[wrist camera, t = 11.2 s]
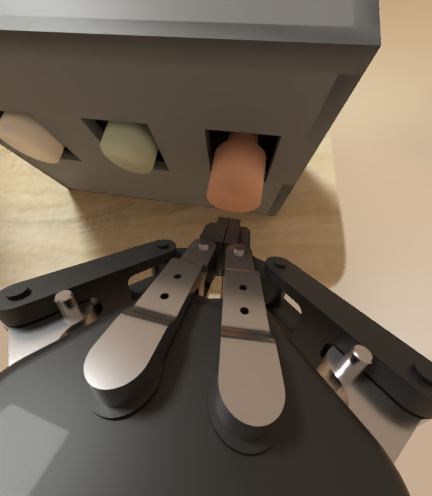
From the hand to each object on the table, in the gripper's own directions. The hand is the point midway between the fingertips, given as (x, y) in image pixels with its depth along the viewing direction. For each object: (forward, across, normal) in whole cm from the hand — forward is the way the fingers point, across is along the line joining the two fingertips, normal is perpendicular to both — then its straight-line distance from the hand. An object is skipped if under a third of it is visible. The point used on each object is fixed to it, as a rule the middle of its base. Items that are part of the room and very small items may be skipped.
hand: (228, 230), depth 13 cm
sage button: (+7, +9, -5) cm, 13 cm away
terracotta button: (+6, 0, -3) cm, 6 cm away
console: (+14, +9, -1) cm, 17 cm away
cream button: (+7, +18, -5) cm, 20 cm away
